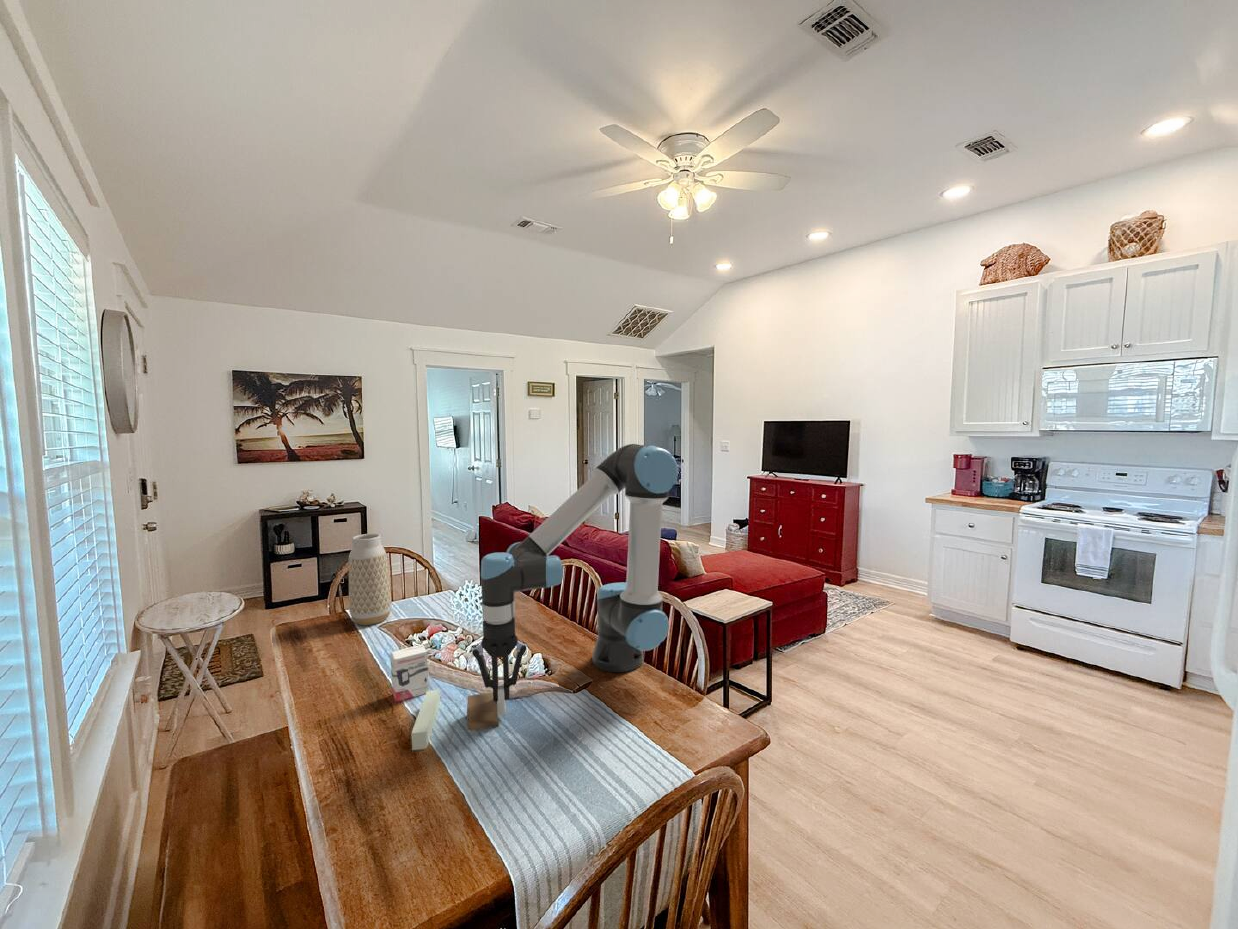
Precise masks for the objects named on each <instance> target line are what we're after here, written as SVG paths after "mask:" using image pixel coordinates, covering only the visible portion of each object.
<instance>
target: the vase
mask: <svg viewBox="0 0 1238 929" xmlns="http://www.w3.org/2000/svg"><path fill="white" fill-rule="evenodd" d="M351 540H352V541H351V542H352V543H351V544H352V548H351V550H350V552H349V555H348V607H349V612H350V617H351V619H352V621H353V622H354V623H356V624H357V625H360V626H373V625H376V624H377V625H378V624H380V623H383V622H384V621H386V619H387V618H388V617H389V615H390V614H391V611H392V592H391V582H390V574H389V573H390V572H389V566H388V558H387V552H386V549H385V548H384V546H383V544H382V540H381V534H379V533H365V534H358V535H355V536H353V537H352V539H351Z"/></svg>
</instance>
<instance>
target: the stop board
mask: <svg viewBox="0 0 1238 929" xmlns="http://www.w3.org/2000/svg"><path fill="white" fill-rule="evenodd" d="M440 695H441V694H440V689H434V690H433V689H431V690H429V691H427V692H426V694H424V697H423V701H422V703H421V705H420V709H419V712H418V715H417V716H416V717H417V718H416V719H415V722H414V725H413V728H412V731H411V750H412V751H417V750H419V751H420V750H425V749H428V745H429V742H430V739H431V735H432V733H431V732H433V728H434V725H435V723H436V719H437V717H438V712H439V709H440V707H441V698H440Z"/></svg>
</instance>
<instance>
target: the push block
mask: <svg viewBox="0 0 1238 929" xmlns="http://www.w3.org/2000/svg"><path fill="white" fill-rule="evenodd" d="M466 718H467V719H466V721H467V722H466V723H467V731H468V732H469V730H470V731H476V730H481V729H490V728H496V727H499V714H498V701H494V700H493V691H492V692H485V693H477V694H471V695H470V694H469V695H467V703H466Z"/></svg>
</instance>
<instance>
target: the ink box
mask: <svg viewBox="0 0 1238 929" xmlns="http://www.w3.org/2000/svg"><path fill="white" fill-rule="evenodd" d="M389 654H390V655H389V656H390V671H391V672H390V674H391V686H392V687H391V689H392V696H393V699H394V700H395V702H396V703H398V702H401V701H405V700H408V699H412V698H414V697H415V698H416V697H419V696H422V695H426V692H427V691H430V680H429V679H430V678H429V662H428V661H429V660H428V650H427V648H426V647H425V646H424V645H423V644H419V645H418V644H417V645H413V646H410V647H406V648H402V649H397V650H394V651H392V652H390V653H389Z"/></svg>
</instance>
